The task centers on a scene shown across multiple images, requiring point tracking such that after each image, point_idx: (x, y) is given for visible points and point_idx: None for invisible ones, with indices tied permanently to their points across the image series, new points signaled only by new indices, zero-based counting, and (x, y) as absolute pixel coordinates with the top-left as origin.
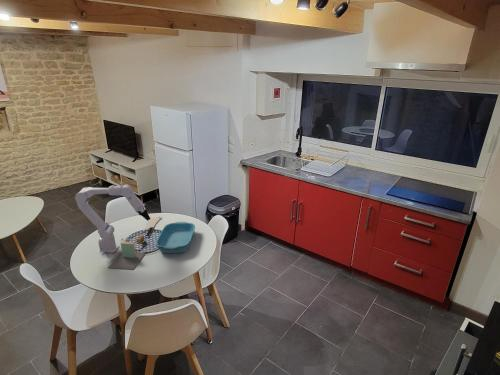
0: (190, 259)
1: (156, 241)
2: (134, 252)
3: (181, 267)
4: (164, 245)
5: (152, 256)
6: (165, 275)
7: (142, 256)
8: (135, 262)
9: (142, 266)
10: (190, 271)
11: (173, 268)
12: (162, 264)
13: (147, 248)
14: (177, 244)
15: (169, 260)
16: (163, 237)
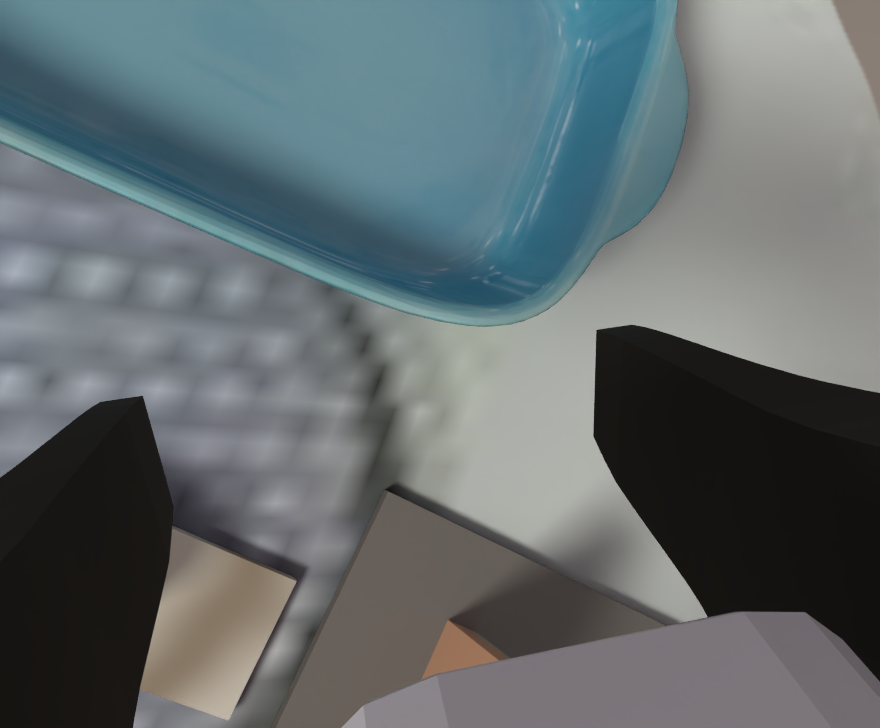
0: (696, 5)
1: (415, 310)
2: (508, 658)
3: (788, 140)
4: (317, 208)
5: (496, 407)
6: (848, 316)
7: (477, 536)
8: (576, 620)
9: (651, 534)
10: (862, 81)
11: (779, 219)
12: (685, 314)
13: (266, 461)
14: (351, 25)
15: (642, 225)
16: (122, 167)
